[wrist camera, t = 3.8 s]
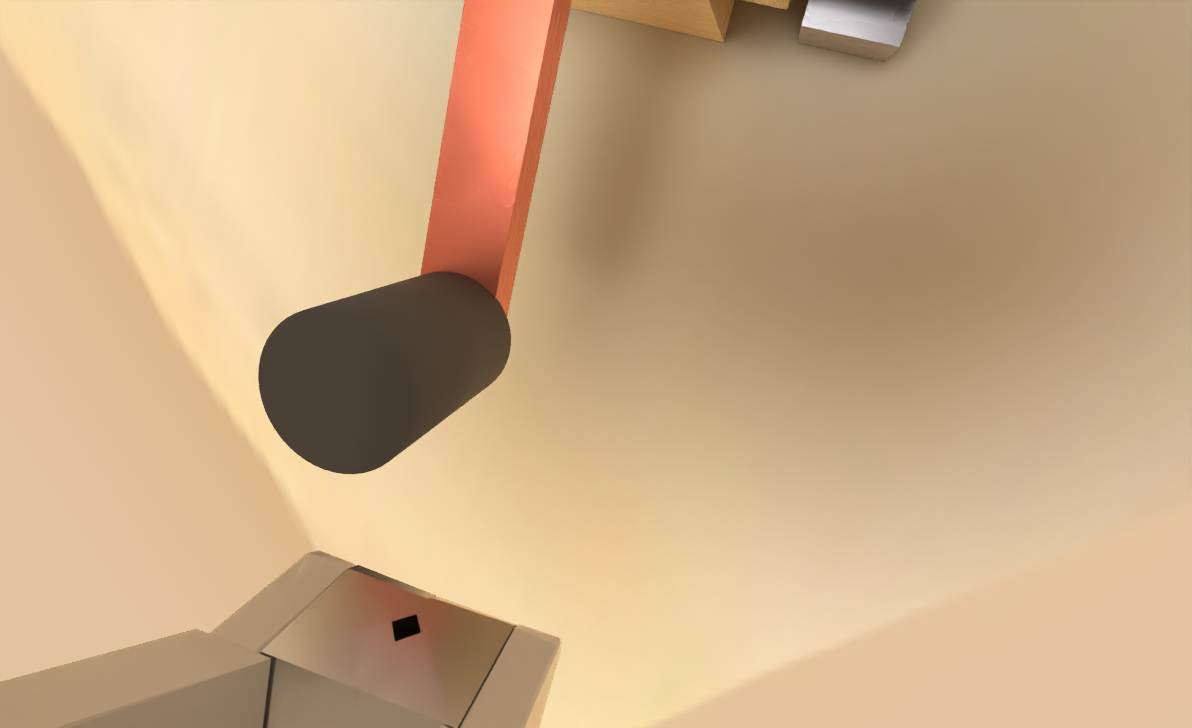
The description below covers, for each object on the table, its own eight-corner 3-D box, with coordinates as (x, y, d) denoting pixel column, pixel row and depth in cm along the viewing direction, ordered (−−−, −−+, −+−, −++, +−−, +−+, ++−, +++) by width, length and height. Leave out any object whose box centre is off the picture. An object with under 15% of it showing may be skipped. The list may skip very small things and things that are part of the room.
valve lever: (521, -367, 15) (343, -751, 9) (687, -344, 14) (624, -739, 8) (405, 357, 20) (242, 440, 14) (524, 395, 19) (409, 500, 13)
